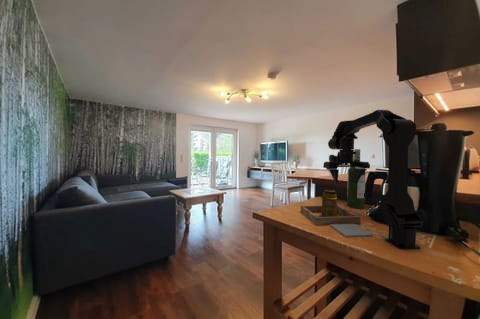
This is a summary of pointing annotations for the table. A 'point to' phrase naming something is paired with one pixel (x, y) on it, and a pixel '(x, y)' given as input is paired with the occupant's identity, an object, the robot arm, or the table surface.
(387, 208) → the robot arm
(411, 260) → the table surface
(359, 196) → the wine bottle
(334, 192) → the condiment
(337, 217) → the wooden tray
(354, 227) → the rubber mat
